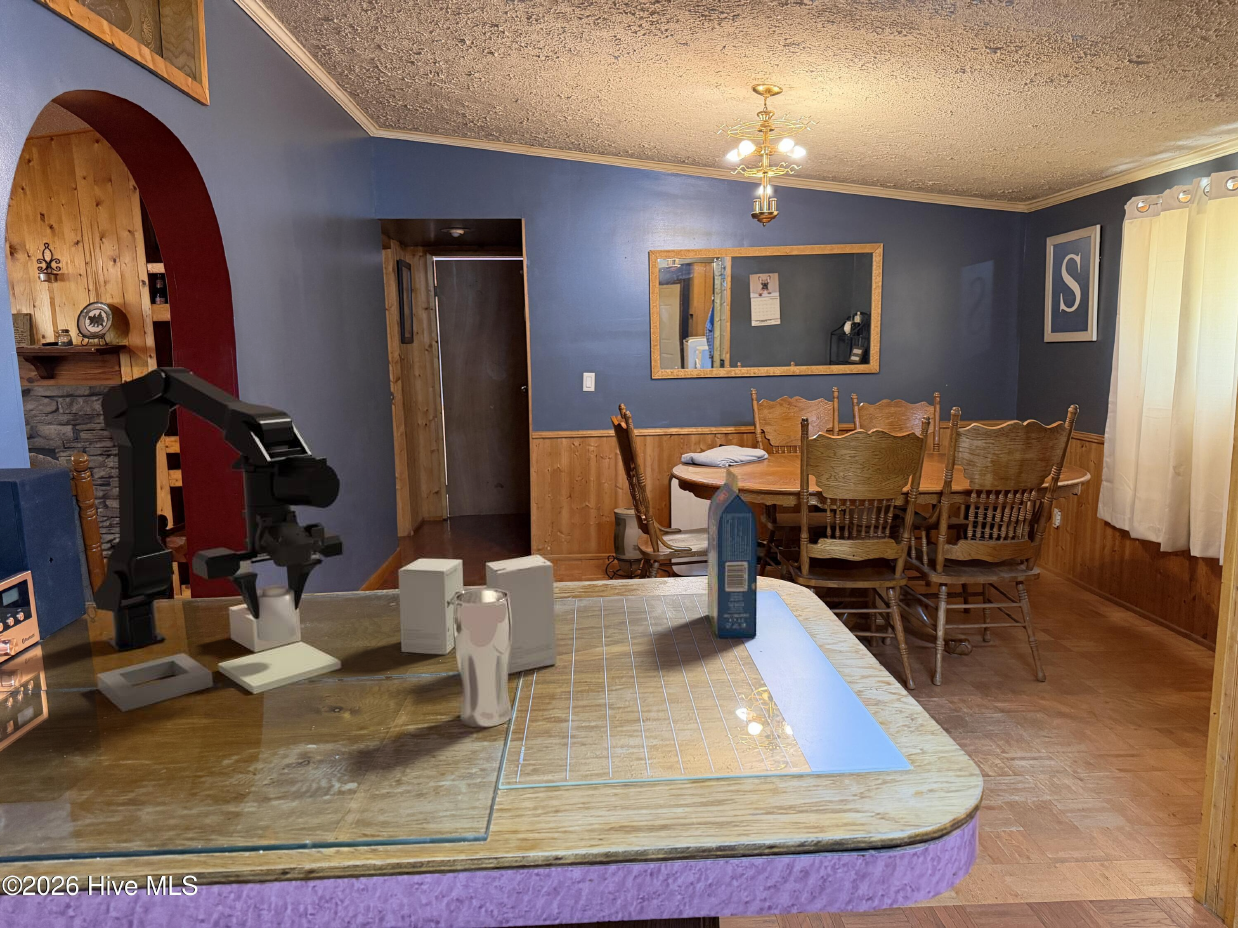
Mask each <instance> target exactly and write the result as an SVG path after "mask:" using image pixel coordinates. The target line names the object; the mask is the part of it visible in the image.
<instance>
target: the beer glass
mask: <svg viewBox="0 0 1238 928" xmlns="http://www.w3.org/2000/svg"><path fill="white" fill-rule="evenodd" d="M453 636H454V652H455V656H456V661H457V666H458V670H459V674H460V679H461V684H462V686H461V687H462V703H461V708H460V718H459V719H460V721H461V722H462V724H464V725H465V726H467V727H472V728H478V729H479V728H480V729H481V728H484V729H485V728H491V727H497V726H500V725H503V724H505V723H506V722H508V721H509V719H511V717H512V713H513V712H512V707H511V702H510V697H509V692H508V690H509V689H508V684H509V683H508V679H509V674H508V672H509V665H510V659H511V651H512V641H513V624H512V612H511V604H510V593H509V592H507V591H505V590H502V589H496V588H487V587H482V588H481V587H480V588H473V589H471V588H470V589H467V590H463V592H460V593H458V594H456V595H455V596H454V611H453Z"/></svg>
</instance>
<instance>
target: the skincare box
mask: <svg viewBox="0 0 1238 928" xmlns="http://www.w3.org/2000/svg"><path fill="white" fill-rule="evenodd" d="M485 575H486V576H485V579H486V588H496V589H502V590H505V591H507V592H509V593H510V604H511V612H512V624H513V641H512V651H511V659H510V665H509V672H508V675H509V674H513V673H518V672H522V671H528V670H531V669H535V668H536V669H537V668H542V667H546V666H551V665H555V664H557V663H558V662H557V659H558V658H557V640H556V637H557V636H556V617H555V616H556V615H555V592H554V591H555V590H554V588H555V587H554V564H553V563H551V561H549V560H547V559H545V558H544V557H542V556H541V555H539V554H534V555H528V556H523V557H517V558H511V559H503V560H499V561H497V560H496V561H491V562H486V563H485Z"/></svg>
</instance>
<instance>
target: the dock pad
mask: <svg viewBox="0 0 1238 928" xmlns="http://www.w3.org/2000/svg"><path fill="white" fill-rule="evenodd" d="M341 662H342V661H341V660H339V659H338V658H335V657H333V656H331V655H329V654H327V653H326V652H324V651H321V650H319V649H317V648H315V647H313V646H312V645H309V644H308V643H305V642H303V641H297V642H293V643H290V644H289V645H288V644H286V645H282V646H278V647H275V648H271V649H267V650H263V651H260V652H256V653H254V654H250V655H246V656H241V657H239V658H235V659H231V660H227V661H223V662H220V663H218V664H217V667H218V672H220V673H222V674H223V675H225V677H228V678H229V679H231V680H232V681H234V682H235V683H237V684H238V685H240V686H241V687H243V688H245V689H246V690H247V691H249V692H250V693H252V694H253V695H254V694H258V693H262V692H265V691H268V690H272V689H275V688H278V687H283V686H285V685H289V684H292V683H296V682H298V681H302V680H305V679H309V678H312V677H316V676H319V675H323V674H326V673H329V672H333V671H336V670H339V669H341V668H342V663H341Z"/></svg>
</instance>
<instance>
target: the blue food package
mask: <svg viewBox="0 0 1238 928" xmlns="http://www.w3.org/2000/svg"><path fill="white" fill-rule="evenodd" d="M738 477H739V475H737V474H736V473H735V472H734V471H733V470H732V469H731V468H729V467H728V466H727V465H726V466H725V482H724V483H723V484H722V485H721V487H720V488H719V489H718V490H717V491H716V492H715V493H714V495H713V496H712V498H711V499H710V501H709V505H708V510H707V614H708V619H709V621H710V622H711V626H712V628H713V631H714V634H716V636H717V638H726V639H727V638H728V639H729V638H755V637H757V607H758V606H757V596H758V591H757V590H758V584H757V583H758V581H757V578H758V525H757V519H756V516H755V512H754V511H753V509H752V508H751V506H750V505H749V504H748V503H747V502H746V501H745V499H744V498H743V497H742V496H741V495H740V494H739V478H738Z"/></svg>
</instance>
